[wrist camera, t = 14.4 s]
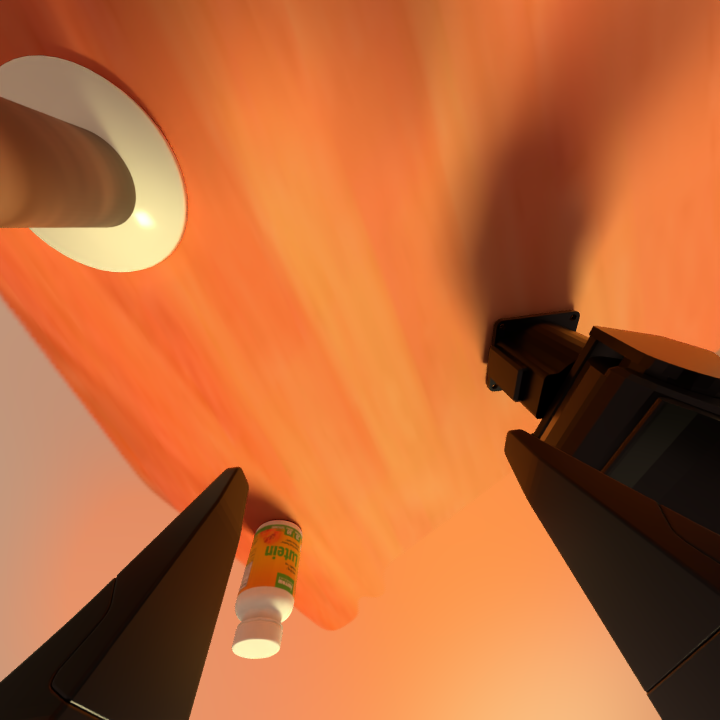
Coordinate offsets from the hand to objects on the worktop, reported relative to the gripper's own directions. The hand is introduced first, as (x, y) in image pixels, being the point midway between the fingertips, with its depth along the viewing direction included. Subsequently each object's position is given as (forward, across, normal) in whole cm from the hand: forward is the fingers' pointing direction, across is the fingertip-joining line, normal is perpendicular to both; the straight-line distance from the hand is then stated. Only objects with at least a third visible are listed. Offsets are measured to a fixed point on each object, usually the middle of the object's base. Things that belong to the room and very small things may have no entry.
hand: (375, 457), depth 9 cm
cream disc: (+13, +14, -11) cm, 22 cm away
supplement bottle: (+13, +12, +24) cm, 30 cm away
